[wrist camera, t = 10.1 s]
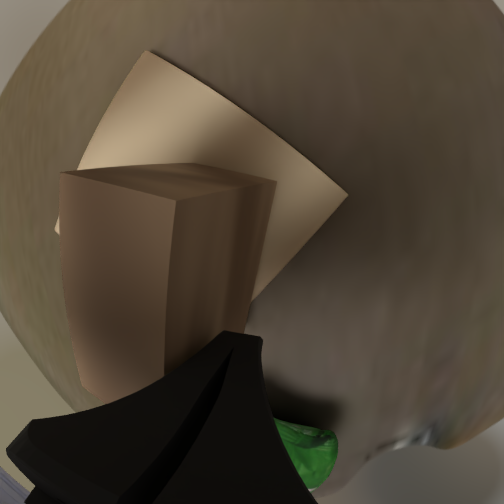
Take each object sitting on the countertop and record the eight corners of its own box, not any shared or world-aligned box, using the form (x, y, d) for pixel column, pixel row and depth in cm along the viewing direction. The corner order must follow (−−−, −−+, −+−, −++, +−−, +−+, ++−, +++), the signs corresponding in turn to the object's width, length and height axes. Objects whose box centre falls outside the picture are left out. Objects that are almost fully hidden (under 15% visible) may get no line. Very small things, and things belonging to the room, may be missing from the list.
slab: (277, 181, 12) (176, 200, 5) (241, 342, 14) (165, 441, 8) (192, 162, 13) (60, 172, 6) (174, 313, 15) (82, 386, 9)
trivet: (347, 193, 12) (348, 194, 12) (200, 352, 17) (197, 357, 16) (150, 52, 12) (145, 49, 11) (59, 227, 16) (54, 229, 15)
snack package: (357, 402, 16) (362, 467, 11) (270, 489, 22) (261, 531, 17) (253, 369, 17) (232, 436, 12) (202, 468, 22) (185, 509, 17)
